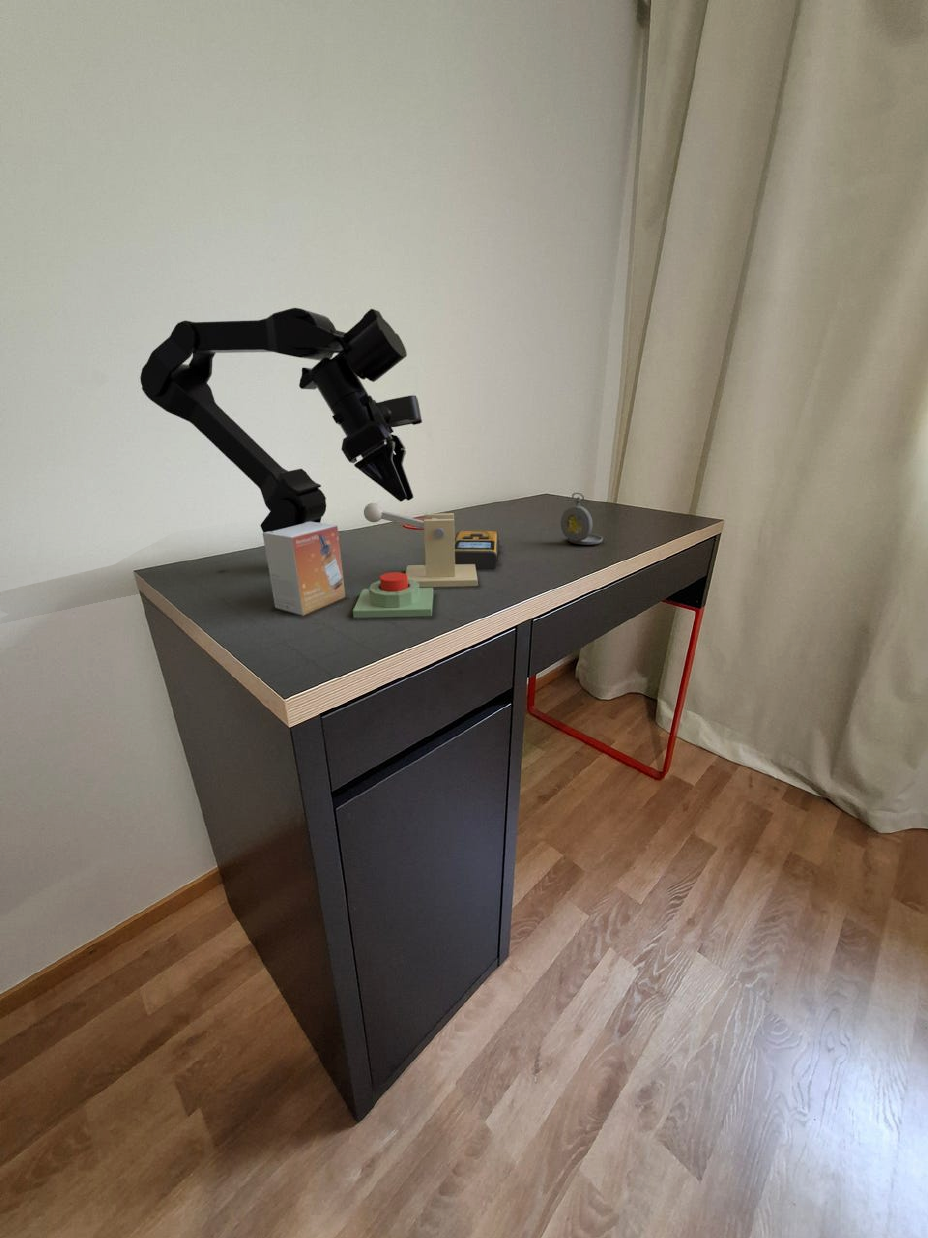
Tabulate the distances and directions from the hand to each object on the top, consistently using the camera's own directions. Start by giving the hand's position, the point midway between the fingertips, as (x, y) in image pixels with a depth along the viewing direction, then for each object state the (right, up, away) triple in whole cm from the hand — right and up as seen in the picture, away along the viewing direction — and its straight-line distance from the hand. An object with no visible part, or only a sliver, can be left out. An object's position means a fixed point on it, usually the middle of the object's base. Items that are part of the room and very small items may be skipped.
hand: (407, 499), depth 72 cm
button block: (-1, -16, -6) cm, 17 cm away
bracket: (+5, -12, +4) cm, 13 cm away
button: (-1, -14, -7) cm, 15 cm away
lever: (-1, -4, +1) cm, 4 cm away
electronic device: (+10, -7, +15) cm, 20 cm away
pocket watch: (+31, -3, +23) cm, 39 cm away
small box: (-13, -16, -5) cm, 21 cm away
